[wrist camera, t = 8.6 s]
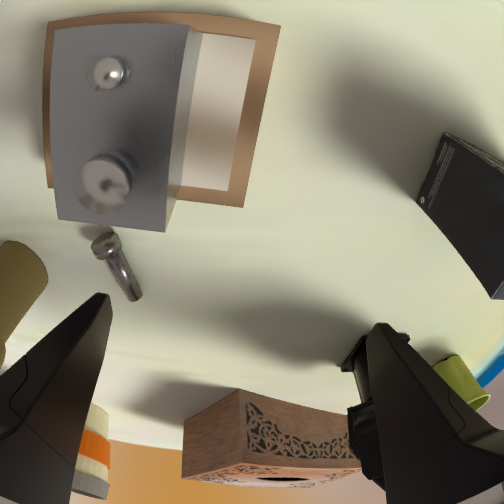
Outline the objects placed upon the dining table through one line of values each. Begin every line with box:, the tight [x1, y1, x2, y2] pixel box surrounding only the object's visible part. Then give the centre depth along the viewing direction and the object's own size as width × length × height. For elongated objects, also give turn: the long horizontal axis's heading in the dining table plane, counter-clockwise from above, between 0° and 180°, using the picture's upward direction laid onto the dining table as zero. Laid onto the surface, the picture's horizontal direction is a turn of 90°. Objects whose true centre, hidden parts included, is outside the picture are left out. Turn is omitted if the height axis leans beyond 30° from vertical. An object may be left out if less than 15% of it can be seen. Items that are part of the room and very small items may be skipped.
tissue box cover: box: [181, 389, 362, 488], centre depth 40 cm, size 26×14×10 cm, turn 52°
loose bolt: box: [91, 232, 143, 302], centre depth 22 cm, size 6×2×2 cm, turn 9°
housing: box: [50, 23, 203, 232], centre depth 11 cm, size 5×8×5 cm, turn 169°
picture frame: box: [42, 12, 281, 208], centre depth 14 cm, size 10×12×3 cm
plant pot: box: [433, 355, 491, 411], centre depth 34 cm, size 9×9×9 cm
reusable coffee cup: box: [71, 403, 110, 500], centre depth 34 cm, size 13×13×15 cm
